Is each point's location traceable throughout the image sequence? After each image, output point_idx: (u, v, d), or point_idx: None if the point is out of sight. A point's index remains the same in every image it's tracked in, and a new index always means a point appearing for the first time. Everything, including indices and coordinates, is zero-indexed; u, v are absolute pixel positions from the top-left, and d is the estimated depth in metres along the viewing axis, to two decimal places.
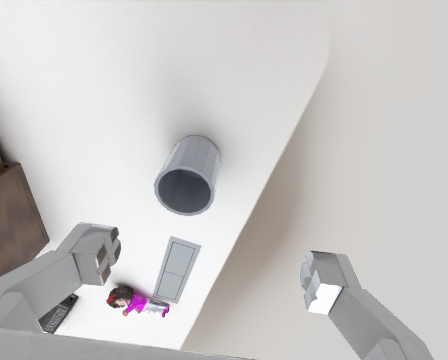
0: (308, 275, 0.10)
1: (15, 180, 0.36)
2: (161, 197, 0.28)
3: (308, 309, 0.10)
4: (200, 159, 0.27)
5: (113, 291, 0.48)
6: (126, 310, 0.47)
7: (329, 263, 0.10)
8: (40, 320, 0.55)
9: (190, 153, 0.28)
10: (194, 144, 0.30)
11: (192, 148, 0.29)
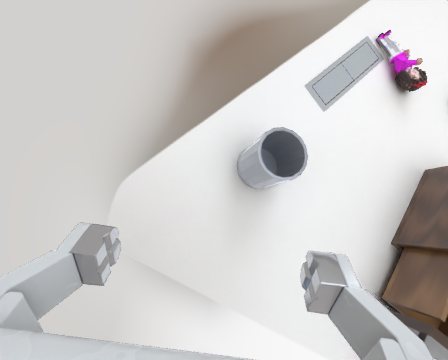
0: (308, 275, 0.10)
1: (405, 234, 0.40)
2: (303, 159, 0.31)
3: (308, 309, 0.10)
4: (254, 169, 0.31)
5: (412, 89, 0.45)
6: (415, 64, 0.43)
7: (329, 263, 0.10)
8: None
9: (259, 178, 0.32)
10: (252, 180, 0.34)
11: (255, 179, 0.33)
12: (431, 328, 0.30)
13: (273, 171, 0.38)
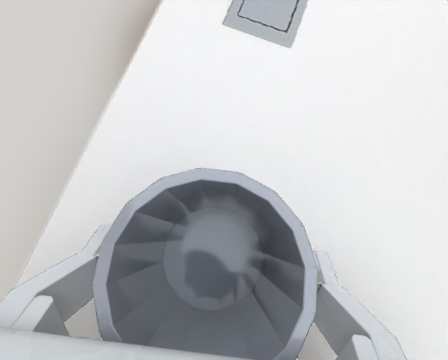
0: None
1: None
2: (294, 242, 0.08)
3: None
4: None
5: None
6: None
7: None
8: None
9: None
10: None
11: None
12: None
13: (252, 247, 0.15)
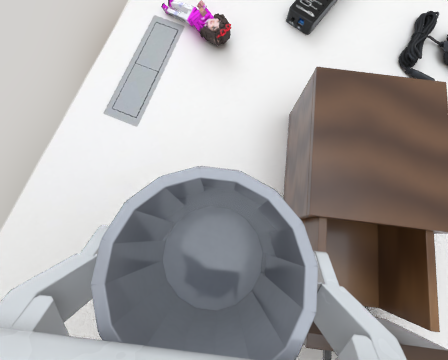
0: None
1: None
2: (294, 241, 0.08)
3: None
4: None
5: (223, 40, 0.37)
6: (202, 15, 0.35)
7: None
8: None
9: None
10: None
11: None
12: None
13: (252, 246, 0.15)
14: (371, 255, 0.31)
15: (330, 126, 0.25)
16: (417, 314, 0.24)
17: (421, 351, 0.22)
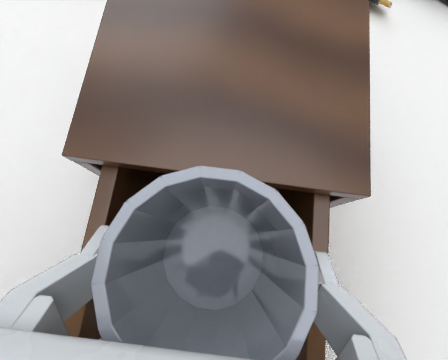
0: None
1: None
2: (295, 241, 0.08)
3: None
4: None
5: None
6: None
7: None
8: None
9: None
10: None
11: None
12: None
13: (252, 246, 0.15)
14: None
15: None
16: None
17: None
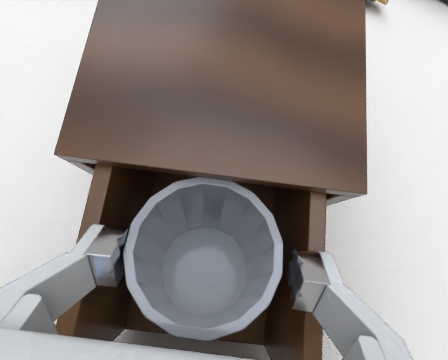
0: (293, 274, 0.10)
1: None
2: (266, 227, 0.11)
3: (293, 307, 0.10)
4: None
5: None
6: None
7: (313, 261, 0.10)
8: None
9: None
10: None
11: None
12: None
13: (238, 260, 0.17)
14: None
15: None
16: None
17: None
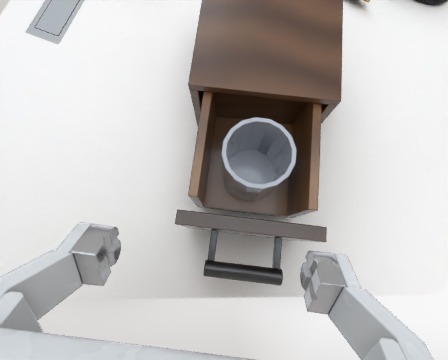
0: (308, 275, 0.10)
1: None
2: (288, 142, 0.22)
3: (308, 309, 0.10)
4: (239, 188, 0.24)
5: None
6: None
7: (329, 263, 0.10)
8: None
9: (251, 193, 0.24)
10: (248, 197, 0.26)
11: (249, 195, 0.25)
12: (177, 213, 0.21)
13: (269, 168, 0.29)
14: None
15: (218, 3, 0.25)
16: (303, 200, 0.23)
17: (295, 227, 0.21)
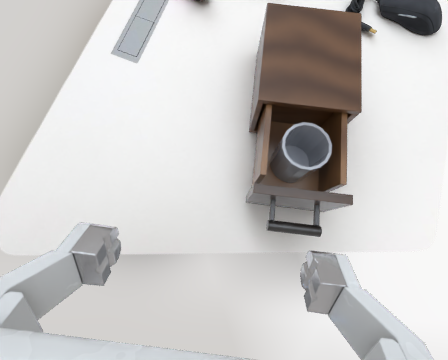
0: (308, 275, 0.10)
1: None
2: (326, 139, 0.33)
3: (308, 309, 0.10)
4: (290, 170, 0.34)
5: None
6: None
7: (329, 263, 0.10)
8: None
9: (298, 174, 0.35)
10: (293, 178, 0.37)
11: (295, 177, 0.36)
12: (253, 186, 0.32)
13: (305, 159, 0.40)
14: None
15: (275, 42, 0.35)
16: (335, 179, 0.34)
17: (332, 195, 0.32)
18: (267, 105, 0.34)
